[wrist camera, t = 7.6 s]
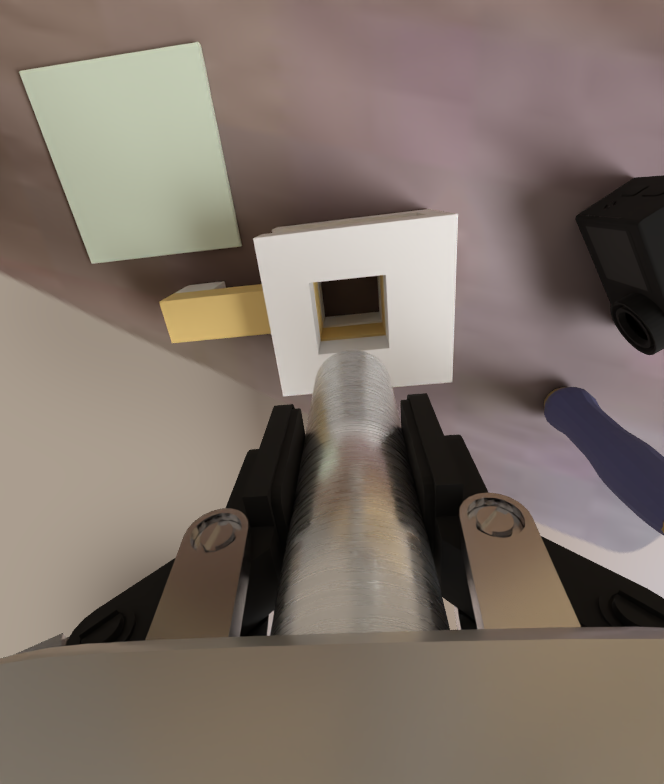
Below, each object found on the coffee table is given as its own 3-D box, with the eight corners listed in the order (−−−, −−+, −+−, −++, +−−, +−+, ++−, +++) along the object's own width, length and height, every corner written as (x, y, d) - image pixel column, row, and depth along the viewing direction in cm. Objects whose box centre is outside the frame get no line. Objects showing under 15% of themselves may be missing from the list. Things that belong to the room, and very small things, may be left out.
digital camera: (557, 226, 28) (616, 234, 22) (633, 175, 27) (720, 169, 20) (605, 335, 32) (667, 369, 26) (675, 297, 30) (759, 323, 24)
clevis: (175, 239, 30) (117, 254, 22) (428, 209, 28) (457, 214, 20) (208, 359, 34) (169, 405, 27) (427, 338, 32) (452, 382, 25)
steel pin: (288, 337, 14) (-87, 1245, 2) (407, 326, 14) (883, 1353, 2) (305, 435, 16) (172, 1200, 4) (409, 428, 16) (629, 1242, 4)
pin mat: (24, 73, 25) (18, 71, 25) (200, 44, 24) (198, 41, 24) (95, 262, 31) (91, 263, 30) (241, 245, 30) (240, 246, 29)
